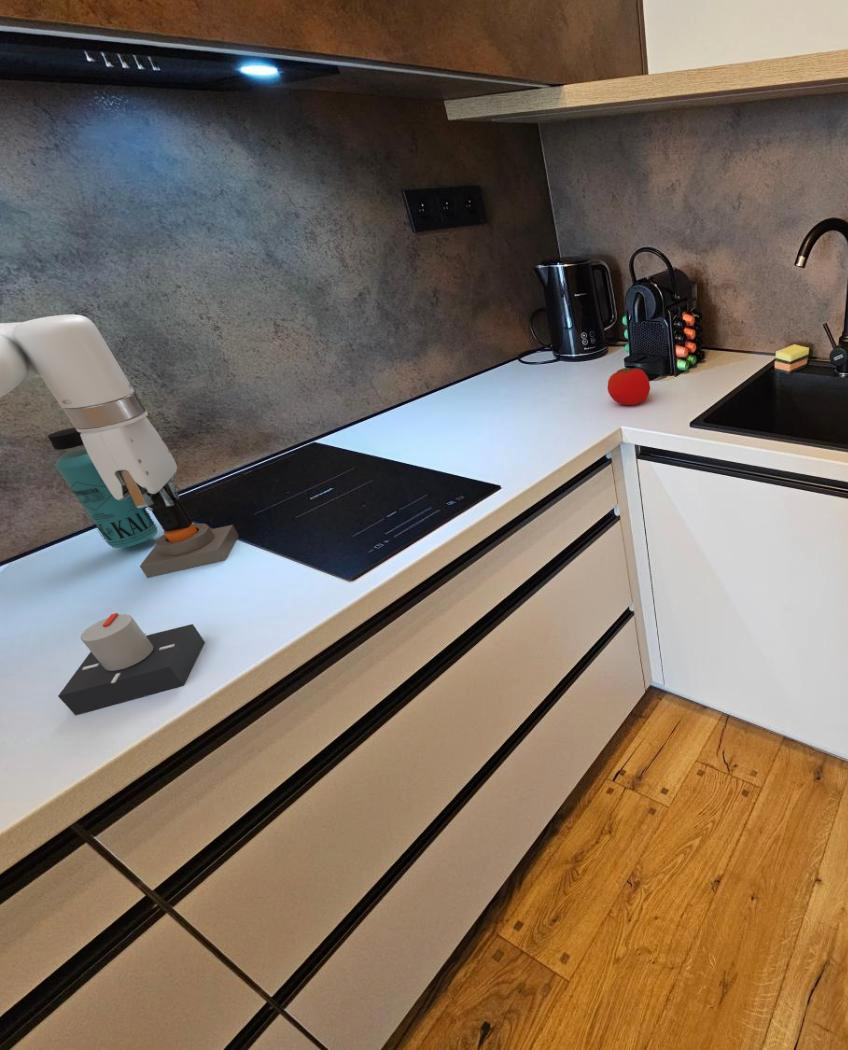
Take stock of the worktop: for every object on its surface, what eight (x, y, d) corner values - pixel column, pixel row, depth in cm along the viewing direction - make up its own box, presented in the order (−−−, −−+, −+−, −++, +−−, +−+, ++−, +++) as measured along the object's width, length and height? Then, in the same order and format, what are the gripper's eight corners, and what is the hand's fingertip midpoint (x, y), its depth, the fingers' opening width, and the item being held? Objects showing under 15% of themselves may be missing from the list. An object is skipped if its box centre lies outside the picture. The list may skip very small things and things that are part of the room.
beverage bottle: (121, 542, 96) (43, 429, 86) (170, 530, 99) (100, 419, 88) (108, 561, 91) (23, 443, 81) (160, 549, 94) (84, 432, 83)
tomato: (659, 401, 139) (656, 366, 135) (624, 413, 134) (619, 377, 129) (637, 393, 145) (633, 359, 141) (602, 404, 140) (597, 369, 136)
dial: (144, 664, 65) (119, 631, 63) (96, 675, 64) (69, 643, 62) (160, 639, 69) (137, 608, 67) (115, 650, 68) (90, 618, 65)
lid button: (166, 546, 87) (159, 536, 86) (174, 534, 90) (168, 525, 89) (194, 540, 88) (188, 530, 87) (201, 529, 91) (196, 519, 90)
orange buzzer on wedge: (147, 578, 86) (132, 556, 84) (167, 551, 93) (153, 530, 91) (225, 560, 89) (212, 538, 87) (239, 535, 96) (227, 514, 94)
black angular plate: (73, 717, 63) (55, 697, 62) (108, 665, 70) (92, 646, 69) (182, 687, 66) (167, 667, 65) (205, 640, 73) (193, 621, 72)
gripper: (98, 401, 84) (168, 511, 93) (43, 436, 72) (129, 559, 81) (160, 391, 86) (222, 500, 96) (117, 424, 74) (192, 545, 84)
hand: (179, 527), depth 88 cm, fingers closed
